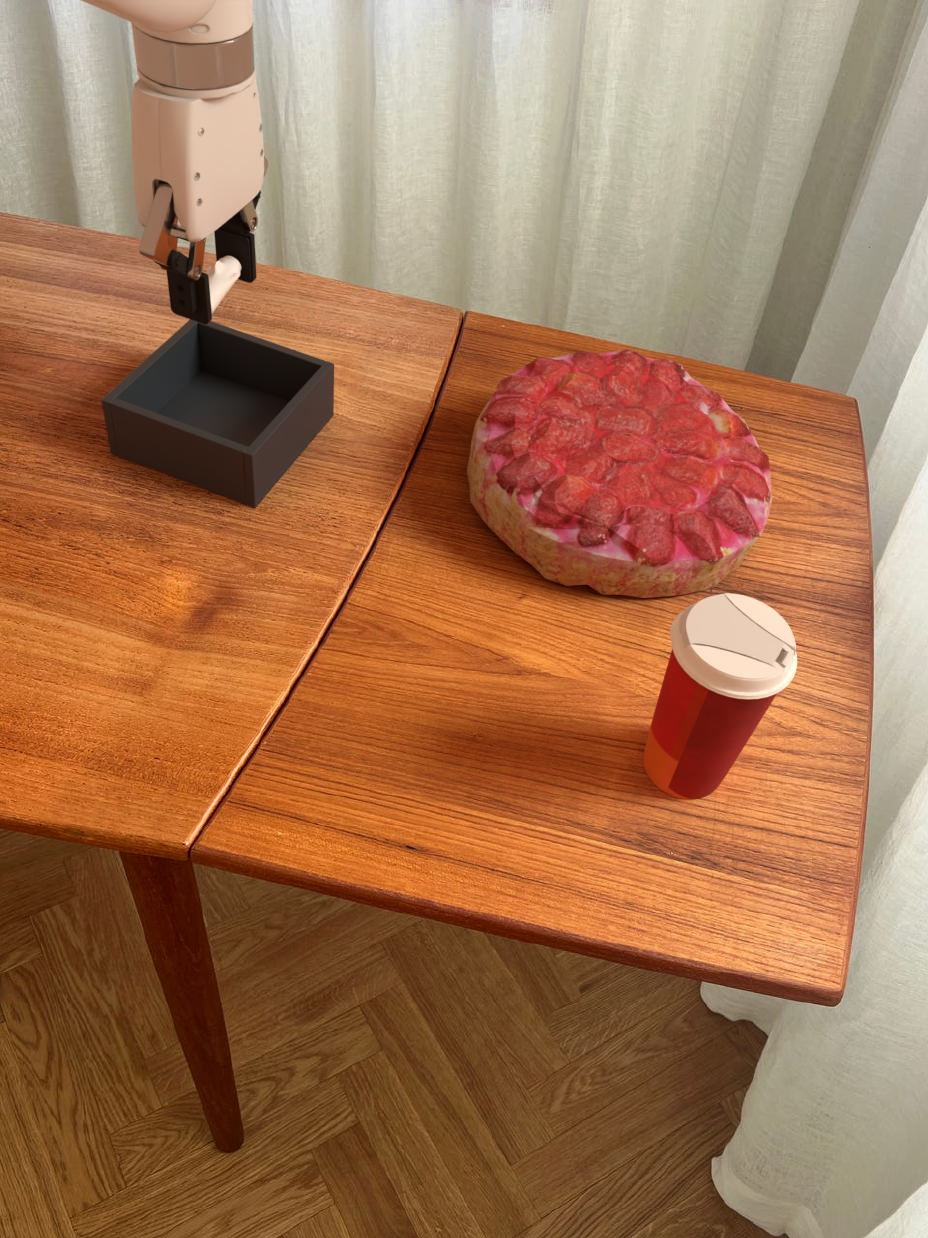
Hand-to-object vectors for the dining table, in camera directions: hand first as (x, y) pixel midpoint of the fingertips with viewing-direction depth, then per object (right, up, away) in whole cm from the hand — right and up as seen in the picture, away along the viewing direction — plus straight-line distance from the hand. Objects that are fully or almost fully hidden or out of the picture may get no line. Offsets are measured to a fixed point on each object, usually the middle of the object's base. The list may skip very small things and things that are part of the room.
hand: (214, 294), depth 85 cm
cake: (+31, -14, +10) cm, 36 cm away
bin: (-1, -9, +10) cm, 14 cm away
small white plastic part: (0, -1, 0) cm, 1 cm away
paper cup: (+34, -35, -8) cm, 49 cm away
